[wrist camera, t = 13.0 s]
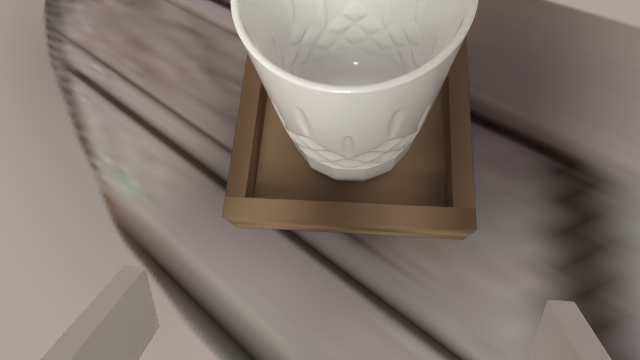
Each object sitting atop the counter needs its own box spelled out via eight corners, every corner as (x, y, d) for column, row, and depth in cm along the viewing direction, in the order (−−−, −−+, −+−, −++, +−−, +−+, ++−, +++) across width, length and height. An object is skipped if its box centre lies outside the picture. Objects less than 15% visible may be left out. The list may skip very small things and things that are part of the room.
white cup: (275, 79, 23) (221, -81, 14) (406, 54, 23) (441, -125, 14) (293, 205, 21) (241, 114, 11) (441, 179, 21) (515, 63, 11)
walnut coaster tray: (454, 44, 24) (464, 16, 22) (463, 239, 20) (476, 229, 18) (262, 43, 25) (253, 16, 23) (235, 226, 21) (222, 216, 19)
